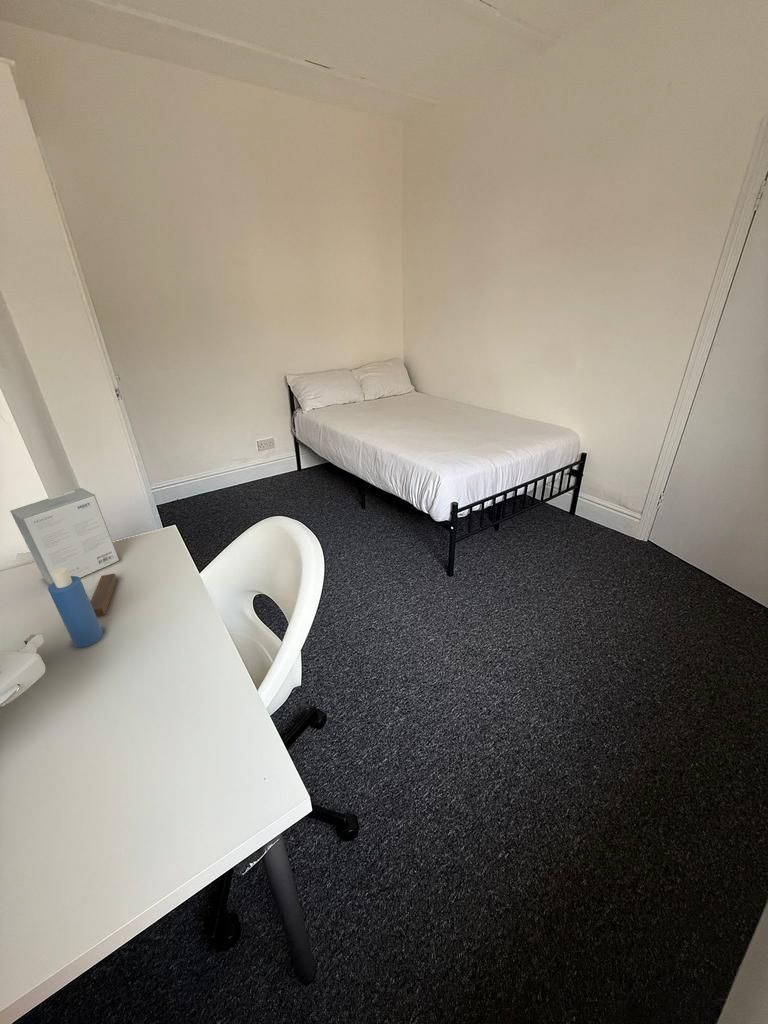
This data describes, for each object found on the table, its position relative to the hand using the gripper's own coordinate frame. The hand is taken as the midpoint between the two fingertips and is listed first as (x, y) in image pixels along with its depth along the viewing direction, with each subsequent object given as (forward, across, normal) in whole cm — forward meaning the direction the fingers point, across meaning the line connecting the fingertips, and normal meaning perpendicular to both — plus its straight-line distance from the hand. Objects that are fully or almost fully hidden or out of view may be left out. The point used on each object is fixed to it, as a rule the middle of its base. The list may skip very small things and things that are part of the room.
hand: (12, 636), depth 70 cm
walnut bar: (+25, +5, +12) cm, 28 cm away
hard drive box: (+36, +19, +12) cm, 42 cm away
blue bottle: (+12, 0, +12) cm, 17 cm away
